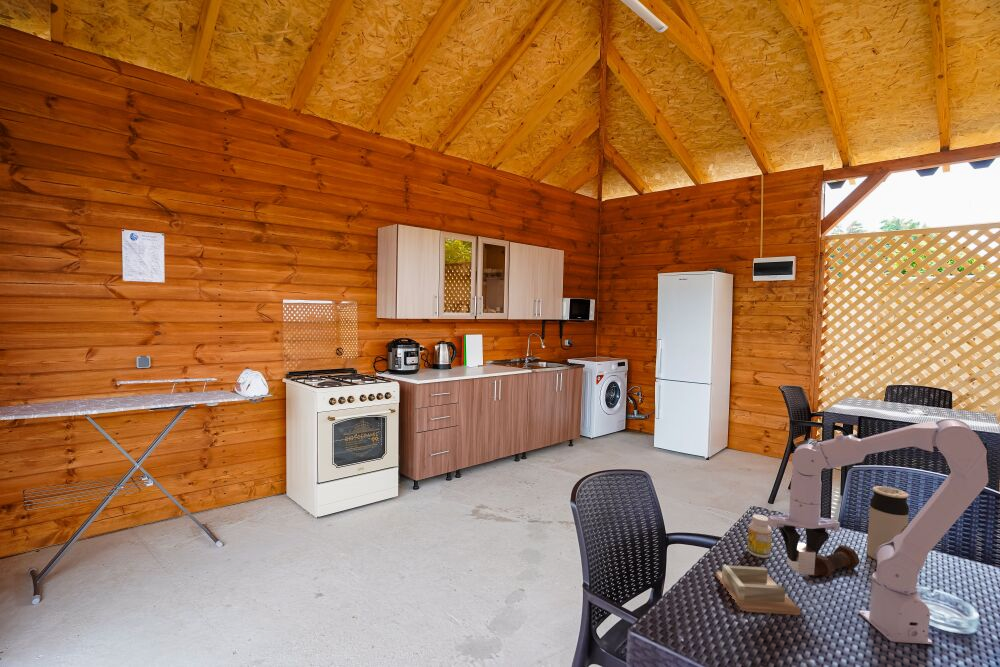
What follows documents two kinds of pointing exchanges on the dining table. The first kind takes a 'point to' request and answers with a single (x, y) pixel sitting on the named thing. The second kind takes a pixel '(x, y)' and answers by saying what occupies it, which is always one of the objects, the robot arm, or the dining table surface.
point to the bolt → (836, 561)
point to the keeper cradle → (756, 590)
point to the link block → (803, 560)
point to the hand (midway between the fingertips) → (800, 559)
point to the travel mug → (886, 517)
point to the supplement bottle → (759, 536)
